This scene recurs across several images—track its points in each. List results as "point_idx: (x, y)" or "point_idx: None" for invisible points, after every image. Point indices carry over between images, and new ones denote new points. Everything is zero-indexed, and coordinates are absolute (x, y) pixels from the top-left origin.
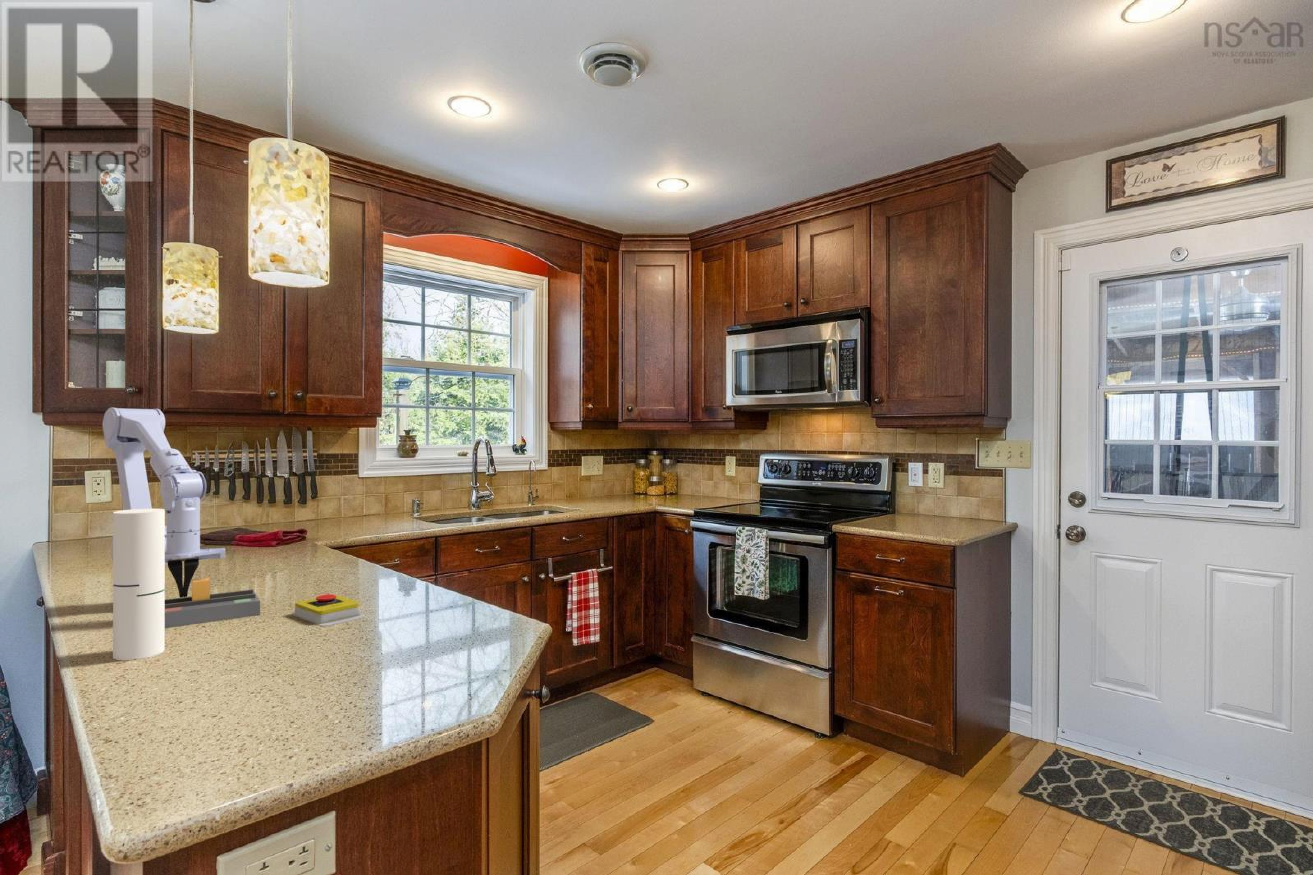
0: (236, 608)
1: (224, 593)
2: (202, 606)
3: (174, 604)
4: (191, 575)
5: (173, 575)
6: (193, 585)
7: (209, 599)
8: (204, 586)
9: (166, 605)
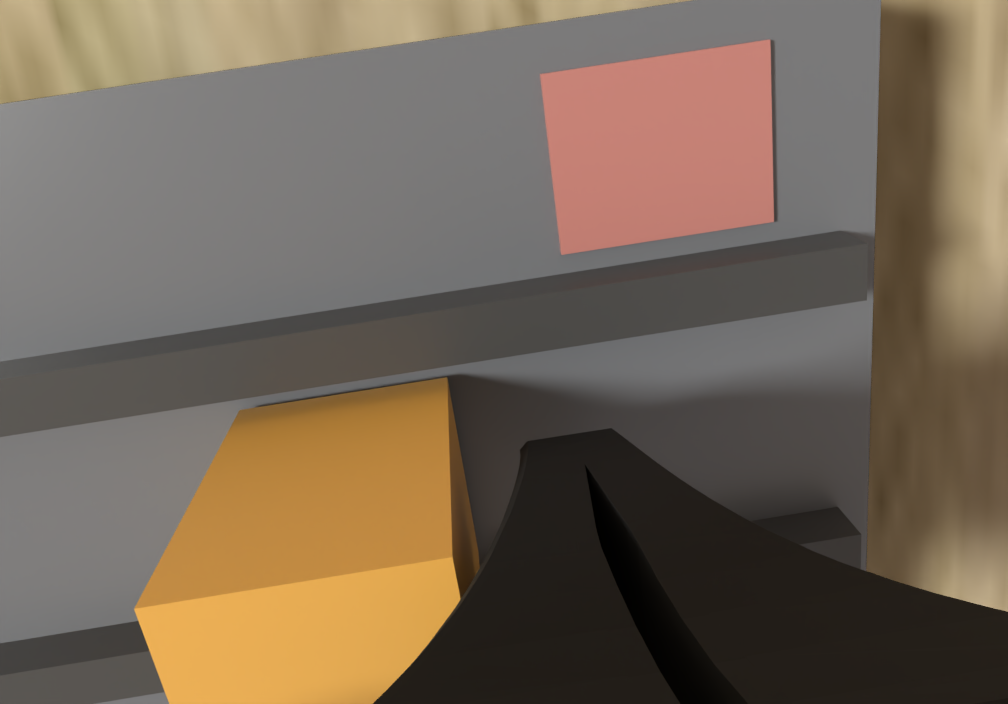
0: None
1: (102, 659)
2: (288, 173)
3: (657, 275)
4: (470, 628)
5: (888, 583)
6: (432, 517)
7: (217, 361)
8: (258, 527)
9: (753, 259)
